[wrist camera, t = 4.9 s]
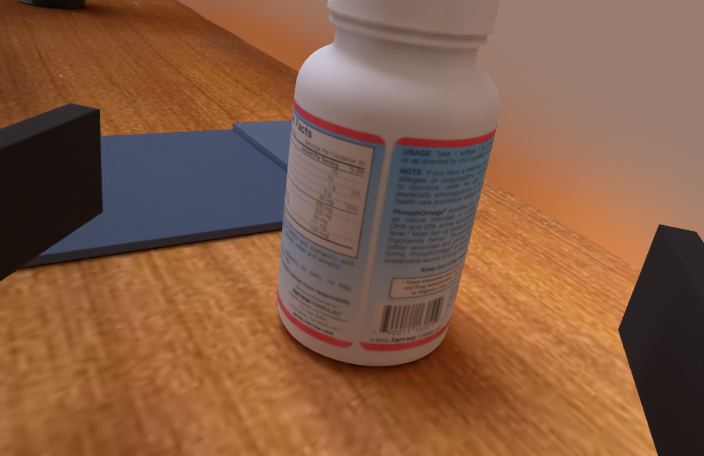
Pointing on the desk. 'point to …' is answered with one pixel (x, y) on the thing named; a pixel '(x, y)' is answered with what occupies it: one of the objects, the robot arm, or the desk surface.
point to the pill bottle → (385, 177)
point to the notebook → (183, 189)
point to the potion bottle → (57, 3)
